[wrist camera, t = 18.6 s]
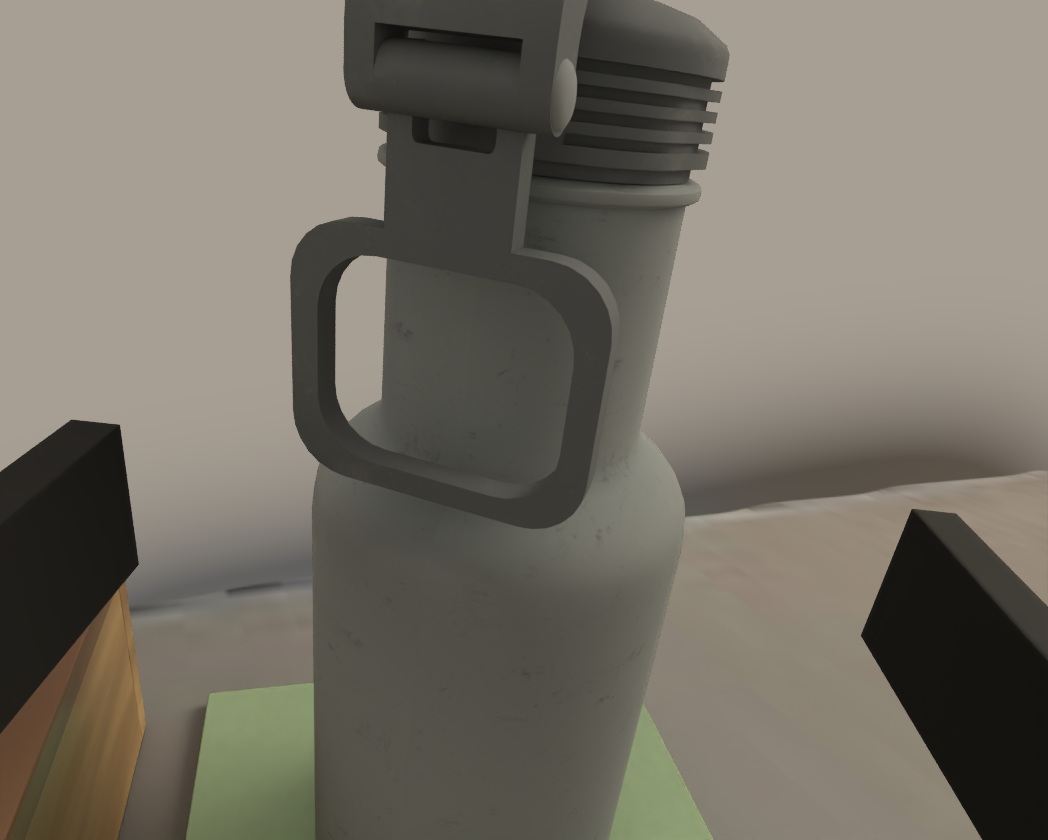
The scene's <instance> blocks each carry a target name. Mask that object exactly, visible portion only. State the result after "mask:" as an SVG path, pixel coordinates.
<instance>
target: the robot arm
mask: <svg viewBox="0 0 1048 840" xmlns="http://www.w3.org/2000/svg"><path fill="white" fill-rule="evenodd" d="M138 565H139V563H138V556H137V548H136V541H135V533H134V526H133V519H132V512H131V504H130V496H129V489H128V482H127V474H126V467H125V460H124V452H123V445H122V437H121V430H120V425H117V424H107V423H98V422H88V421H79V420H70V421H69V422H68V423H66V424H65V425H64V426H62V427H61V428H59V429H58V430H57V431H55V432H54V433H53V434H51V435H50V436H48V437H47V438H46V439H44V440H43V441H42V442H40V443H39V444H38V445H36V446H35V447H33V448H32V449H31V450H29V451H28V452H27V453H25V454H24V455H22V456H21V457H20V458H18V459H17V460H16V461H14V462H13V463H12V464H10V465H9V466H8V467H6V468H5V469H3V470H2V471H1V472H0V734H1V733H2V731H3V730H4V729H5V728H6V726H7V725H8V724H9V723H10V722H11V720H12V719H13V718H14V717H15V715H16V714H17V713H18V712H19V711H20V709H21V708H22V707H23V706H24V704H25V703H26V702H27V701H28V700H29V698H30V697H31V696H32V695H33V693H34V692H35V691H36V690H37V688H38V687H39V686H40V685H41V684H42V682H43V681H44V680H45V679H46V677H47V676H48V675H49V674H50V673H51V671H52V670H53V669H54V668H55V666H56V665H57V664H58V663H59V662H60V660H61V659H62V658H63V657H64V655H65V654H66V653H67V652H68V650H69V649H70V648H71V647H72V646H73V644H74V643H75V642H76V641H77V639H78V638H79V637H80V636H81V635H82V633H83V632H84V631H85V630H86V628H87V627H88V626H89V625H90V623H91V622H92V621H93V620H94V619H95V617H96V616H97V615H98V614H99V612H100V611H101V610H102V609H103V608H104V606H105V605H106V604H107V603H108V601H109V600H110V599H111V598H112V597H113V595H114V594H115V593H116V592H117V590H118V589H119V588H120V587H121V585H122V584H123V583H124V582H125V580H126V579H127V578H128V577H129V576H130V574H131V573H132V572H133V571H134V569H135V568H136V567H137V566H138ZM861 637H862V638H863V640H864V642H865V643H866V645H867V647H868V648H869V650H870V652H871V653H872V655H873V657H874V658H875V660H876V662H877V664H878V665H879V667H880V669H881V670H882V672H883V674H884V675H885V677H886V679H887V680H888V682H889V684H890V685H891V687H892V689H893V690H894V692H895V694H896V695H897V697H898V699H899V700H900V702H901V704H902V706H903V707H904V709H905V711H906V712H907V714H908V716H909V717H910V719H911V721H912V722H913V724H914V726H915V727H916V729H917V731H918V732H919V734H920V736H921V737H922V739H923V741H924V742H925V744H926V746H927V747H928V749H929V751H930V753H931V754H932V756H933V758H934V759H935V761H936V763H937V764H938V766H939V768H940V769H941V771H942V773H943V774H944V776H945V778H946V779H947V781H948V783H949V784H950V786H951V788H952V789H953V791H954V793H955V795H956V796H957V798H958V800H959V801H960V803H961V805H962V806H963V808H964V810H965V811H966V813H967V815H968V816H969V818H970V820H971V821H972V823H973V825H974V826H975V828H976V830H977V831H978V833H979V835H980V837H981V838H982V840H1048V606H1047V605H1046V604H1045V603H1044V602H1043V601H1042V600H1041V599H1040V598H1039V597H1038V596H1037V595H1036V594H1035V593H1034V592H1033V591H1032V590H1031V589H1030V588H1029V587H1028V586H1027V585H1026V584H1025V583H1024V582H1023V581H1022V580H1021V579H1020V578H1019V577H1018V576H1017V575H1016V574H1015V573H1014V572H1013V571H1012V570H1011V569H1010V568H1009V567H1008V566H1007V565H1006V564H1005V563H1004V562H1003V561H1002V560H1001V559H1000V558H999V557H998V556H997V555H996V554H995V553H994V552H993V551H992V550H991V549H990V548H989V547H988V546H987V545H986V543H985V542H984V541H983V540H982V539H981V538H980V537H979V536H978V535H977V534H976V533H975V532H974V531H973V530H972V529H971V528H970V527H969V526H968V525H967V524H966V523H965V522H964V521H963V520H962V519H961V518H960V517H959V516H958V515H957V514H955V513H945V512H936V511H927V510H917V509H912V510H911V513H910V515H909V518H908V520H907V523H906V525H905V527H904V530H903V532H902V535H901V537H900V540H899V542H898V545H897V547H896V550H895V552H894V555H893V557H892V560H891V562H890V565H889V567H888V570H887V572H886V575H885V577H884V580H883V582H882V585H881V587H880V590H879V592H878V594H877V597H876V599H875V602H874V604H873V607H872V609H871V612H870V614H869V617H868V619H867V622H866V624H865V627H864V629H863V632H862V634H861Z"/></svg>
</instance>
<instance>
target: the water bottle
mask: <svg viewBox="0 0 1048 840" xmlns="http://www.w3.org/2000/svg"><path fill="white" fill-rule="evenodd" d="M728 60H729V52H728V48H727V46H726V45H725V44H724V43H723V42H722V41H721V40H720V39H719V38H718V37H717V36H716V35H715V34H714V33H713V32H712V31H710V30H709V29H708V28H707V27H706V26H705V25H704V24H703V23H702V22H701V21H700V20H698V19H696V18H695V17H692V16H690V15H688V14H686V13H683V12H681V11H678V10H676V9H674V8H672V7H669V6H667V5H665V4H662V3H660V2H657V1H654V0H345V16H344V80H345V86H346V91H347V94H348V96H349V98H350V100H351V102H352V103H353V104H354V105H355V106H356V107H358V108H361V109H367V110H375V111H381V112H380V113H379V128H380V129H382V130H383V131H385V132H387V143H385V144H382V145H381V146H380V147H379V150H378V155H377V156H378V161H380V162H381V163H382V164H383V165H384V166H386V178H385V206H384V209H385V210H384V221H382V220H376V219H372V218H365V217H348V218H344V219H340V220H335V221H331V222H327V223H324V224H321V225H318V226H316V227H315V228H313V229H312V230H311V231H309V232H308V233H306V235H305V236H304V237H303V239H302V240H301V241H300V243H299V244H298V245H297V248H296V250H295V254H294V256H293V259H292V265H291V275H290V282H291V329H292V377H293V411H294V419H295V425H296V427H297V430H298V433H299V435H300V438H301V439H302V441H303V443H304V444H305V446H306V447H307V449H308V451H309V452H310V453H311V454H312V455H313V456H314V457H315V458H316V459H317V460H318V461H319V462H320V464H319V466H318V470H317V476H316V481H315V486H314V495H313V505H312V543H313V544H312V547H313V549H312V550H313V656H314V761H315V840H609V836H610V832H611V828H612V824H613V820H614V816H615V812H616V808H617V804H618V800H619V796H620V792H621V788H622V784H623V780H624V776H625V772H626V768H627V764H628V760H629V756H630V752H631V748H632V744H633V740H634V736H635V733H636V729H637V725H638V721H639V717H640V713H641V709H642V705H643V701H644V697H645V693H646V689H647V685H648V681H649V677H650V673H651V669H652V665H653V661H654V657H655V653H656V649H657V645H658V641H659V637H660V633H661V629H662V625H663V621H664V617H665V613H666V609H667V605H668V601H669V597H670V593H671V589H672V585H673V581H674V577H675V573H676V569H677V565H678V561H679V558H680V554H681V547H682V540H683V533H684V519H685V507H684V499H683V496H682V493H681V490H680V487H679V483H678V481H677V478H676V476H675V473H674V471H673V470H672V468H671V467H670V465H669V463H668V462H667V460H666V459H665V457H664V456H663V455H662V453H661V452H660V450H659V449H658V447H657V446H656V445H655V444H654V443H653V442H652V441H651V440H650V439H649V438H648V437H647V436H646V435H645V434H643V433H642V432H641V431H640V426H641V422H642V417H643V412H644V407H645V402H646V397H647V392H648V387H649V383H650V377H651V373H652V368H653V363H654V358H655V353H656V348H657V343H658V338H659V334H660V329H661V324H662V319H663V314H664V308H665V304H666V299H667V294H668V289H669V285H670V279H671V275H672V270H673V265H674V260H675V255H676V251H677V246H678V240H679V236H680V231H681V226H682V221H683V216H684V212H685V207H686V206H689V205H691V204H694V203H696V202H698V201H699V199H700V197H701V187H700V185H699V184H697V183H696V182H694V181H693V180H691V179H689V176H690V171H691V170H705V169H706V165H707V161H708V156H709V152H706V151H704V150H701V149H698V146H699V144H711V142H712V137H713V133H711V132H708V131H703V130H702V126H703V123H714V124H715V123H716V118H717V114H718V113H715V112H709V111H706V107H707V102H718V103H720V99H721V95H722V92H720V91H714V90H710V87H711V83H712V82H724V81H725V76H726V71H727V66H728ZM361 255H364V256H379V257H383V258H387V269H386V297H385V325H384V355H383V381H382V383H383V384H382V399H381V400H379V401H378V402H376V403H374V404H372V405H370V406H369V407H367V408H365V409H363V410H362V411H361V412H359V413H358V414H357V415H356V416H355V417H354V418H353V419H351V420H350V421H349V422H348V421H347V420H346V418H345V416H344V415H343V413H342V411H341V409H340V406H339V403H338V400H337V396H336V387H335V305H336V303H335V302H336V293H337V286H338V283H339V281H340V279H341V276H342V274H343V272H344V270H345V269H346V268H347V267H348V266H349V264H350V263H351V262H352V261H353V260H355V259H356V258H358V257H359V256H361Z"/></svg>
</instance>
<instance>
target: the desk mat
mask: <svg viewBox="0 0 1048 840" xmlns="http://www.w3.org/2000/svg"><path fill="white" fill-rule="evenodd" d="M185 840H315V761H314V683H305V684H295V685H286V686H276V687H267V688H257V689H248V690H238V691H229V692H219V693H210V694H209V695H208V700H207V706H206V712H205V718H204V725H203V731H202V737H201V743H200V749H199V756H198V762H197V768H196V774H195V781H194V787H193V793H192V799H191V806H190V812H189V818H188V824H187V831H186V837H185ZM609 840H713V838H712V836H711V834H710V832H709V830H708V828H707V826H706V824H705V822H704V820H703V818H702V816H701V814H700V812H699V810H698V809H697V807H696V805H695V803H694V801H693V799H692V797H691V795H690V793H689V791H688V789H687V787H686V785H685V783H684V781H683V779H682V777H681V775H680V773H679V771H678V770H677V768H676V766H675V764H674V762H673V760H672V758H671V756H670V754H669V752H668V750H667V748H666V746H665V744H664V742H663V740H662V738H661V736H660V734H659V732H658V731H657V729H656V727H655V725H654V723H653V721H652V719H651V717H650V715H649V713H648V711H647V709H646V707H645V705H644V703H643V705H642V709H641V713H640V717H639V721H638V725H637V729H636V733H635V736H634V740H633V744H632V748H631V752H630V756H629V760H628V764H627V768H626V772H625V776H624V780H623V784H622V788H621V792H620V796H619V800H618V804H617V808H616V812H615V816H614V820H613V824H612V828H611V832H610V836H609Z"/></svg>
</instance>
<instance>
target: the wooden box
mask: <svg viewBox="0 0 1048 840" xmlns="http://www.w3.org/2000/svg"><path fill="white" fill-rule="evenodd" d="M145 726H146V720H145V714H144V707H143V700H142V693H141V686H140V679H139V672H138V666H137V659H136V652H135V645H134V638H133V631H132V625H131V618H130V611H129V604H128V597H127V591H126V584H125V582H124V583H123V584H122V585H121V587H120V588H119V589H118V590H117V592H116V593H115V594H114V595H113V597H112V598H111V599H110V600H109V601H108V603H107V604H106V605H105V606H104V608H103V609H102V610H101V611H100V612H99V614H98V615H97V616H96V617H95V619H94V620H93V621H92V622H91V623H90V625H89V626H88V627H87V628H86V630H85V631H84V632H83V633H82V635H81V636H80V637H79V638H78V639H77V641H76V642H75V643H74V644H73V646H72V647H71V648H70V649H69V650H68V652H67V653H66V654H65V655H64V657H63V658H62V659H61V660H60V662H59V663H58V664H57V665H56V666H55V668H54V669H53V670H52V671H51V673H50V674H49V675H48V676H47V677H46V679H45V680H44V681H43V682H42V684H41V685H40V686H39V687H38V688H37V690H36V691H35V692H34V693H33V695H32V696H31V697H30V698H29V700H28V701H27V702H26V703H25V704H24V706H23V707H22V708H21V709H20V711H19V712H18V713H17V714H16V715H15V717H14V718H13V719H12V720H11V722H10V723H9V724H8V725H7V726H6V728H5V729H4V730H3V731H2V733H1V734H0V840H118V836H119V831H120V827H121V823H122V819H123V815H124V811H125V807H126V803H127V799H128V795H129V791H130V787H131V783H132V779H133V775H134V771H135V767H136V762H137V758H138V754H139V750H140V746H141V742H142V738H143V735H144V730H145Z"/></svg>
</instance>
